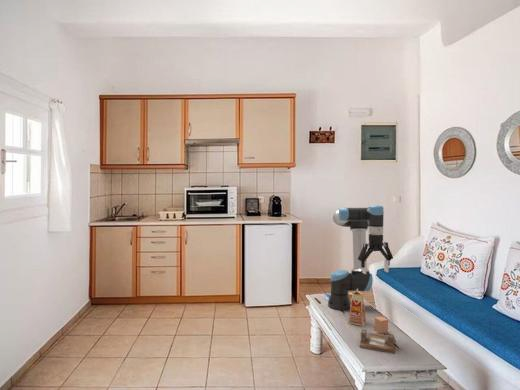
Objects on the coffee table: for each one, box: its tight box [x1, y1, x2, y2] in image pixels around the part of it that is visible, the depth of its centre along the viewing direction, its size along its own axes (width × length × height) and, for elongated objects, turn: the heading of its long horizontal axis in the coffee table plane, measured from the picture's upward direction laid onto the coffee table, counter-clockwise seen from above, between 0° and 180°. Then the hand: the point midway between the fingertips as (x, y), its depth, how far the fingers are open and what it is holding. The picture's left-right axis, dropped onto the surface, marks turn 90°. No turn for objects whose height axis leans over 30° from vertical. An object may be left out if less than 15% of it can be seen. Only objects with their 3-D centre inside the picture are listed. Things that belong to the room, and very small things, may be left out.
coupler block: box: [374, 316, 389, 335], centre depth 187 cm, size 5×5×7 cm
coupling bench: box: [359, 329, 396, 354], centre depth 172 cm, size 16×16×6 cm
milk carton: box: [347, 289, 367, 327], centre depth 199 cm, size 9×9×20 cm
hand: (375, 272), depth 184 cm, fingers open, 13 cm apart
